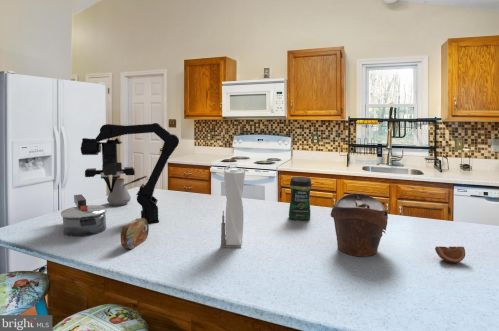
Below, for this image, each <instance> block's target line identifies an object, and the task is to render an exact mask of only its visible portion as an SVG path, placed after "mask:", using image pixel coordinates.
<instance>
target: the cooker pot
mask: <svg viewBox="0 0 499 331" xmlns="http://www.w3.org/2000/svg"><path fill="white" fill-rule="evenodd" d="M106 217H107V215H106V212H105V213H104V214H101V215H98V216H94V217H89V218H78V219H71V218H64V217H62V225H63V226H62V228H63V235H64V236H67V237H73V238H74V237H75V238H77V237H78V238H79V237H87V236H93V235H97V234H100V233H103V232H104V231H106V230H107V218H106Z"/></svg>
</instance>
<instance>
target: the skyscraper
mask: <svg viewBox="0 0 499 331" xmlns="http://www.w3.org/2000/svg"><path fill="white" fill-rule="evenodd" d="M231 166H234V168H230V169H229V170H228V171H226V170H227V169H228V168H229V167H231ZM237 166H238V164H237V163H230V164H228V165H227V166H226V167H225V169H224V170H223V177H224V178H223V180H224V190H225V198H226V201H225V202H226V203H225V211H224V210H222V216H221V219H222V220H221V223H220V226H221V227H220V228H221V230H220V234H221V235H220V249H221V248H223V249H241V248H242V244H243V236H244V206H243V199H242V198H243V193H244V185H245V176H246V170H244V169H239V168H237ZM224 213H225V214H224Z"/></svg>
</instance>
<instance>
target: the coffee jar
mask: <svg viewBox="0 0 499 331" xmlns="http://www.w3.org/2000/svg"><path fill="white" fill-rule="evenodd" d="M289 189H290V200H289V201H290V202H289V209H288V217H289V219H291V220H296V221H307V220H309V219H311V190H312V179H311V177H308V176H307V177H306V176H291V177H290V181H289Z"/></svg>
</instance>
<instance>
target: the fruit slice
mask: <svg viewBox="0 0 499 331" xmlns="http://www.w3.org/2000/svg"><path fill="white" fill-rule="evenodd" d="M434 250H435V253H436V254H437V256H438V257H439V258H440V259H441V260H443V261H444V262H446V263H449V264H458V263H460V262H461V261H463V260H464V259H465V257H466V249H465V246H440V245H439V246H435V248H434Z"/></svg>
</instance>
